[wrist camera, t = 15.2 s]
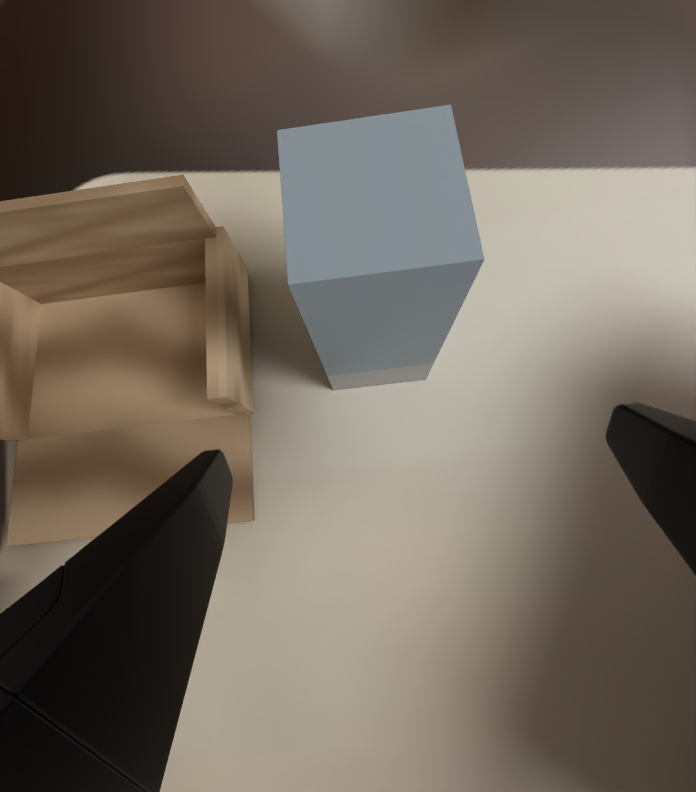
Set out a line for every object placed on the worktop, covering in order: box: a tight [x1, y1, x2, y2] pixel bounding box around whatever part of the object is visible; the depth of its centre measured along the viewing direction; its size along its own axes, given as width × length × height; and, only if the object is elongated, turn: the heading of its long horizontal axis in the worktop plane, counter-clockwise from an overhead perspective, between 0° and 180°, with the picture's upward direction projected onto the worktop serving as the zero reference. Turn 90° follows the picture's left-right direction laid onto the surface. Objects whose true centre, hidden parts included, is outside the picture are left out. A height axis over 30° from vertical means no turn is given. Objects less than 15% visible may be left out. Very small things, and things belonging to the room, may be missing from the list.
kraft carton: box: [0, 175, 254, 547], centre depth 19 cm, size 16×15×8 cm
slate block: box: [277, 105, 484, 390], centre depth 17 cm, size 6×6×12 cm
